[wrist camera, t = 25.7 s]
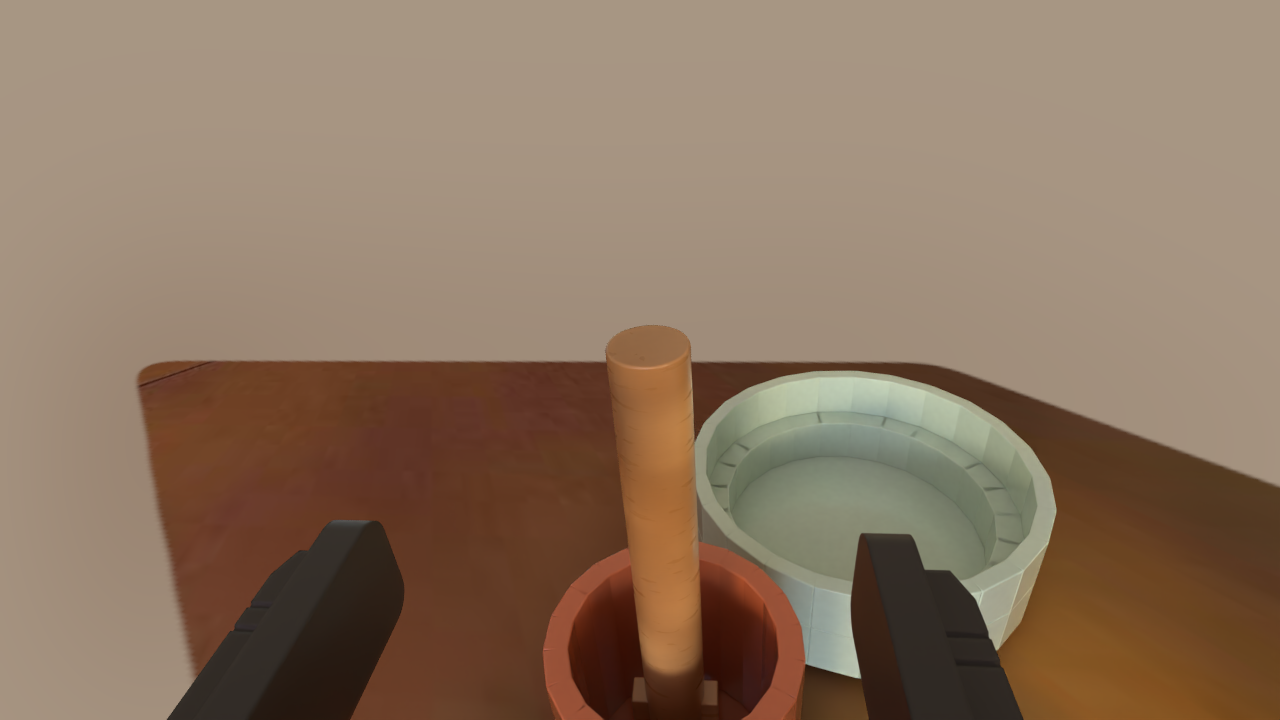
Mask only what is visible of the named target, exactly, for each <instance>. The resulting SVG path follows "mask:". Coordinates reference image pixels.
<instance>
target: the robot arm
mask: <svg viewBox="0 0 1280 720" xmlns="http://www.w3.org/2000/svg"><path fill="white" fill-rule="evenodd" d="M403 601H404V583H403V579H402V576H401V573H400V570H399V568H398V565H397V562H396V560H395V557H394V554H393V552H392V549H391V546H390V544H389V541H388V538H387V536H386V533H385V530H384V528H383V526H382V525H381V523H379V522H378V521H359V520H333V521H331V522H329V523H328V524H327V525H326V526H325V527H324V529H323V530H322V531H321V533H320V534H319V536H318V537H317V539H316V540H315V542H314V543H313V545H312V546H311V548H310V549H309V551H298V552H297V553H296V554H295V555H293V556H292V557H291V558H290V559H289V560H287V561H286V562H285V563H284V564H283V565H281V566H280V567H279V568H278V569H277V570H275V571H274V572H273V573H272V574H271V575H270V576H269V578H268V579H267V580H266V582H265V583H264V585H263V586H262V587H261V589H260V590H259V592H258V593H257V594H256V596H255V597H254V599H253V600H252V601H251V607H250V608H246V610H245V611H244V613H243V614H242V615H241V617H240V618H239V620H238V621H237V622H236V624H235V629H234V631H230V632H229V633H228V635H227V636H226V638H225V639H224V640H223V642H222V643H221V645H220V646H219V647H218V649H217V650H216V652H215V653H214V654H213V656H212V657H211V659H210V660H209V661H208V663H207V664H206V666H205V667H204V668H203V670H202V671H201V673H200V674H199V675H198V677H197V678H196V680H195V681H194V682H193V684H192V685H191V687H190V688H189V689H188V691H187V692H186V694H185V695H184V697H183V698H182V699H181V701H180V702H179V703H178V705H177V706H176V708H175V709H174V710H173V712H172V713H171V715H170V716H169V717H168V719H167V720H350V719H351V717H352V715H353V713H354V710H355V708H356V706H357V704H358V702H359V700H360V698H361V696H362V694H363V692H364V689H365V687H366V685H367V683H368V681H369V679H370V677H371V675H372V673H373V671H374V669H375V666H376V664H377V662H378V660H379V658H380V656H381V654H382V652H383V650H384V648H385V646H386V643H387V641H388V639H389V637H390V635H391V633H392V631H393V629H394V627H395V625H396V622H397V620H398V618H399V616H400V613H401V610H402V606H403ZM850 611H851V626H852V634H853V639H854V645H855V650H856V655H857V660H858V665H859V670H860V675H861V680H862V685H863V690H864V695H865V700H866V706H867V711H868V716H869V720H1023V717H1022V715H1021V712H1020V710H1019V707H1018V705H1017V702H1016V700H1015V697H1014V695H1013V692H1012V689H1011V687H1010V684H1009V682H1008V679H1007V677H1006V674H1005V672H1004V669H1003V668H1002V667H1001V666H1000V659H999V657H998V654H997V652H996V649H995V647H994V644H993V642H992V639H990V638H989V631H988V629H987V626H986V624H985V621H984V619H983V616H982V614H981V611H980V609H979V606H978V604H977V601H976V599H975V598H974V597H973V596H972V595H971V593H970V592H969V591H968V590H967V589H966V588H965V587H964V586H963V584H962V583H961V582H960V581H959V580H958V579H957V578H956V577H955V575H954V574H953V573H952V572H951V571H950V570H925V569H924V566H923V563H922V560H921V557H920V554H919V551H918V548H917V545H916V543H915V540H914V538H913V537H912V535H910V534H886V533H861V534H860V536H859V541H858V548H857V555H856V562H855V569H854V577H853V584H852V591H851V602H850Z"/></svg>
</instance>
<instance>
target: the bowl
mask: <svg viewBox="0 0 1280 720" xmlns="http://www.w3.org/2000/svg"><path fill="white" fill-rule="evenodd" d="M695 467H696V492H697V517H698V541H699V542H703V543H707V544H711V545H714V546H718V547H722V548H726V549H729V551H732V552H734V553H736V554H737V555H739V556H741V557H743V558H745V559H746V560H748V561H750V562H752V563H753V564H755V565H757V566H758V567H759V568H761V569H762V570H763V571H764V572H765V573H766V574H767V575H768V576H769V577H770V578H771V579H772V580H773V581H774V582H775V583H776V584H777V585H778V586H779V587H780V588H781V589H782V590H783V592H784V593H785V594H786V596H787V598H788V600H789V602H790V604H791V606H792V608H793V610H794V611H795V613H796V615H797V617H798V619H799V621H800V625H801V627H802V633H803V641H804V649H805V657H806V664H807V665H810V666H813V667H817V668H821V669H824V670H828V671H832V672H835V673H839V674H843V675H846V676H850V677H854V678H859V679H861V675H860V670H859V665H858V660H857V655H856V650H855V645H854V639H853V634H852V626H851V611H850V602H851V591H852V584H853V577H854V569H855V562H856V555H857V548H858V541H859V536H860V534H861V533H886V534H910V535H912V537H913V538H914V540H915V543H916V545H917V548H918V551H919V554H920V557H921V560H922V563H923V566H924V569H925V570H950V571H951V572H952V573H953V574H954V575H955V577H956V578H957V579H958V580H959V581H960V582H961V583H962V584H963V586H964V587H965V588H966V589H967V590H968V591H969V592H970V593H971V595H972V596H973V597H974V598H975V599H976V601H977V604H978V606H979V609H980V611H981V614H982V616H983V619H984V621H985V624H986V626H987V629H988V631H989V638H990V639H992V642H993V644H994V647H995V649H996V651H997V650H998V649H999V648H1000V647H1001V646H1002V644H1003V643H1004V642H1005V641H1006V639H1007V638H1008V637H1009V636H1010V635H1011V633H1012V632H1013V631H1014V630H1015V628H1016V627H1017V626H1018V625H1019V624H1020V622H1021V621H1022V618H1023V615H1024V613H1025V610H1026V607H1027V604H1028V601H1029V598H1030V595H1031V592H1032V589H1033V586H1034V584H1035V581H1036V578H1037V575H1038V572H1039V569H1040V566H1041V563H1042V561H1043V558H1044V555H1045V552H1046V549H1047V546H1048V543H1049V540H1050V536H1051V532H1052V528H1053V524H1054V520H1055V516H1056V512H1057V509H1056V504H1055V499H1054V495H1053V490H1052V485H1051V480H1050V477H1049V475H1048V474H1047V472H1046V471H1045V469H1044V468H1043V466H1042V464H1041V463H1040V461H1039V460H1038V458H1037V456H1036V455H1035V453H1034V452H1033V450H1032V448H1030V446H1028V445H1027V444H1026V443H1025V442H1024V441H1023V440H1022V439H1021V438H1020V437H1019V436H1018V435H1017V434H1016V433H1014V432H1013V431H1012V430H1011V429H1010V428H1009V427H1008V426H1007V425H1006V424H1005V423H1004V422H1002V421H1001V420H999V419H998V418H996V417H994V416H993V415H991V414H989V413H988V412H986V411H985V410H983V409H981V408H980V407H978V406H976V405H975V404H973V403H972V402H970V401H968V400H965V399H963V398H960V397H958V396H956V395H953V394H951V393H948V392H946V391H944V390H941V389H939V388H936V387H934V386H931V385H928V384H924V383H920V382H916V381H912V380H908V379H905V378H901V377H897V376H892V375H886V374H877V373H869V372H861V371H817V372H816V371H814V372H807V373H801V374H794V375H788V376H782V377H779V378H776V379H773V380H770V381H767V382H764V383H761V384H758V385H755V386H752V387H749V388H747V389H746V390H744V391H742V392H741V393H739V394H737V395H735V396H734V397H732V398H730V399H729V400H727V401H725V402H724V403H723V404H722V405H721V406H720V407H719V408H718V409H717V410H716V411H715V412H714V413H713V414H712V415H711V416H710V417H709V418H708V419H707V420H706V421H705V423H704V424H703V426H702V428H701V431H700V433H699V435H698V437H697V439H696V441H695Z"/></svg>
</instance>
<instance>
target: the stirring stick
mask: <svg viewBox="0 0 1280 720" xmlns="http://www.w3.org/2000/svg"><path fill="white" fill-rule="evenodd" d="M605 351H606V361H607V369H608V377H609V386H610V394H611V403H612V411H613V420H614V428H615V437H616V445H617V454H618V462H619V471H620V479H621V488H622V496H623V505H624V513H625V522H626V530H627V539H628V547H629V556H630V564H631V572H632V581H633V589H634V598H635V606H636V615H637V623H638V632H639V640H640V649H641V657H642V666H643V674H644V678H641V677H635V678H634V683H633V692H632V708H633V715H634V720H719V706H718V682H717V681H713V680H704V667H703V642H702V617H701V592H700V567H699V542H698V517H697V492H696V467H695V443H694V418H693V393H692V368H691V346H690V341H689V339H688V338H687V336H686V335H685V334H684V333H682V332H681V331H679V330H676V329H674V328H670V327H666V326H658V325H647V326H639V327H634V328H630V329H627V330H624V331H622V332H620V333H618V334H616V335H615V336H614V337H612V338H611V339H610V341H609V342H608V343H607V346H606V350H605Z"/></svg>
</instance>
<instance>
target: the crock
mask: <svg viewBox="0 0 1280 720" xmlns="http://www.w3.org/2000/svg"><path fill="white" fill-rule="evenodd" d="M698 542H699V541H698ZM699 567H700V592H701V617H702V642H703V667H704V680H713V681H717V682H718V706H719V720H801V710H802V699H803V688H804V676H805V665H806V657H805V649H804V641H803V633H802V627H801V625H800V621H799V619H798V617H797V615H796V613H795V611H794V610H793V608H792V606H791V604H790V602H789V600H788V598H787V596H786V594H785V593H784V592H783V590H782V589H781V588H780V587H779V586H778V585H777V584H776V583H775V582H774V581H773V580H772V579H771V578H770V577H769V576H768V575H767V574H766V573H765V572H764V571H763V570H762V569H761V568H759V567H758V566H757V565H755V564H753V563H752V562H750V561H748V560H746V559H745V558H743V557H741V556H739V555H737V554H736V553H734V552H732V551H729V549H726V548H722V547H718V546H714V545H711V544H707V543H703V542H699ZM543 664H544V673H545V682H546V689H547V693H548V697H549V701H550V705H551V709H552V713H553V717H554V720H634V715H633V708H632V692H633V683H634V678H635V677H641V678H644V674H643V666H642V657H641V649H640V640H639V632H638V623H637V615H636V606H635V598H634V589H633V581H632V572H631V564H630V556H629V547H628V548H627V549H623V550H621V551H619V552H617V553H615V554H613V555H611V556H609V557H607V558H605V559H603V560H601V561H599V562H597V564H594V565H593V566H592V567H590V568H589V569H588V570H587V571H586V572H585V573H584V574H582V575H581V576H580V577H579V578H578V579H577V580H576V581H575V582H573V583H572V584H571V585H570V587H569V588H568V590H567V591H566V593H565V594H564V596H563V598H562V599H561V601H560V602H559V604H558V605H557V607H556V609H555V610H554V612H553V613H552V617H551V618H550V622H549V626H548V630H547V634H546V638H545V642H544V646H543Z"/></svg>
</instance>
